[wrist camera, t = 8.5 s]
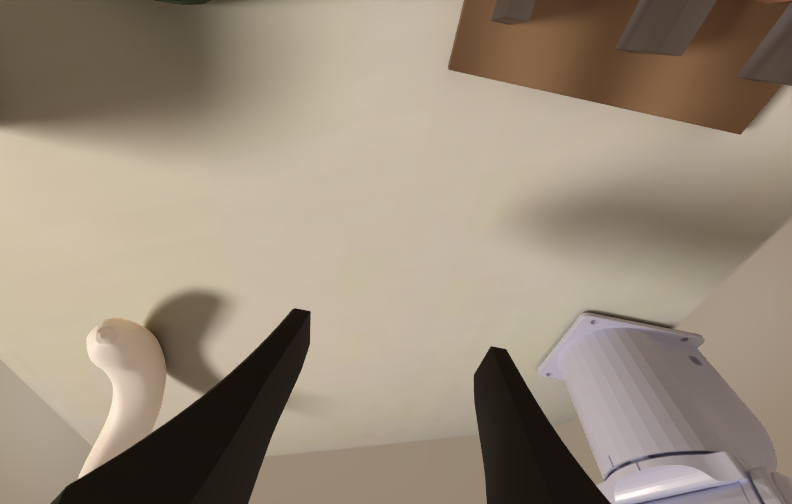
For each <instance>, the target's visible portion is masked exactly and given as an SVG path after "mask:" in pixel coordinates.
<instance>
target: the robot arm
mask: <svg viewBox="0 0 792 504" xmlns="http://www.w3.org/2000/svg"><path fill="white" fill-rule="evenodd" d="M703 342H704V338H702V336H701V335H698V334H694V333H688V332H684V331H679V330H674V329H669V328H664V327H659V326H654V325H649V324H644V323H639V322H634V321H629V320H624V319H619V318H614V317H609V316H604V315H599V314H594V313H583V314H581V315H580V316H579V317H578V319H577V320H576V321H575V322H574V324H573V325H572V326H571V327H570V329H569V330H568V331H567V332H566V334H565V335H564V336H563V337H562V339H561V340H560V341H559V342H558V344H557V345H556V346H555V347H554V349H553V350H552V351H551V352H550V354H549V355H548V356H547V357H546V359H545V360H544V361H543V362H542V364H541V365H540V366H539V367H538V369H537V373H538V375H539V376H542V377H548V378H553V379H558V380H563V381H565V384H566V386H567V389H568V391H569V394H570V396H571V399H572V401H573V404H574V406H575V409H576V411H577V414H578V416H579V419H580V421H581V424H582V426H583V429H584V431H585V434H586V436H587V439H588V441H589V444H590V447H591V449H592V451H593V454H594V457H595V459H596V461H597V464H598V467H599V469H600V472H601V474H602V477H603V479H604V482H602V483H600V484H596V485H595V484H594V483H593V481H592V480H591V479H590V478H589V476H588V475H587V474H586V473H585V472H584V470H583V469H582V467H581V466H580V465H579V463H578V462H577V461H576V460H575V458H574V457H573V455H572V454H571V453H570V451H569V450H568V449H567V447H566V446H565V445H564V443H563V442H562V441H561V439H560V437H559V436H558V434H557V433H556V431H555V430H554V428H553V427H552V425H551V424H550V422H549V421H548V419H547V418H546V416H545V415H544V413H543V411H542V410H541V408H540V407H539V405H538V403H537V402H536V400H535V398H534V397H533V395H532V393H531V392H530V390H529V388H528V387H527V385H526V383H525V382H524V380H523V378H522V376H521V375H520V373H519V371H518V369H517V368H516V366H515V364H514V362H513V360H512V359H511V357H510V355H509V353H508V352H507V350H506V349H502V348H497V347H492V346H491V347H490V349H489V351H488V352H487V354H486V356H485V357H484V359H483V361H482V362H481V364H480V366H479V367H478V369H477V371H476V372H475V374H474V400H475V409H476V416H477V423H478V429H479V436H480V442H481V449H482V455H483V462H484V470H485V480H486V496H487V504H792V478H790V477H787V476H785V475H783V474H780V473H778V472H776V468H777V460H776V454H775V449H774V446H773V443H772V441H771V439H770V437H769V434H768V432H767V431H766V429H765V428H764V426H763V425H762V423H761V422H760V421H759V420H758V418H757V417H756V416H755V415H754V414H753V413H752V411H751V410H750V409H749V408H748V407H747V406H746V404H745V403H744V402H743V401H742V400H741V399H740V398H739V396H738V395H737V394H736V393H735V392H734V391H733V390H732V388H730V386H729V385H728V384H727V383H726V382H725V380H724V379H723V378H722V377H721V376H720V375H719V373H718V372H717V371H716V370H715V369H714V368H713V367H712V365H710V363H709V362H708V361H707V360H706V358H705V357H704V356H703V355H702V354H701V353H700V352H699V350H698V349H697V348H698V347H699V346H700V345H701V344H703ZM309 345H310V311H306V310H301V309H296V308H295V309H293V310H292V311H291V312H290V313H289V314H288V315H287V317H286V318H285V319H284V320H283V321H282V322H281V323H280V325H279V326H278V327H277V328H276V329H275V330H274V331H273V332H272V333H271V334H270V335H269V336H268V337H267V338H266V339H265V340H264V341H263V342H262V343H261V344H260V345H259V347H258V348H257V349H256V350H255V351H254V352H253V353H251V354H250V355H249V356H248V357H247V358H246V359H245V360H244V361H243V362H242V363H241V364H240V365H239V366H237V367H236V368H235V369H234V370H233V371H232V372H231V373H230V374H229V375H227V376H226V377H225V378H224V379H223V380H222V381H220V382H219V383H218V384H217V385H216V386H214V387H213V388H212V389H211V390H210V391H208V392H207V393H206V394H205V395H203V396H202V397H201V398H199V399H198V400H197V401H196V402H194V403H193V404H192V405H190V406H189V407H188V408H186V409H185V410H184V411H182V412H181V413H180V414H178V415H177V416H175V417H174V418H173V419H171V420H170V421H168V422H167V423H166V424H164V425H163V426H161V427H160V428H158V429H157V430H155V431H154V432H152V433H151V434H149V435H148V436H146V437H145V438H143V439H142V440H140V441H139V442H137V443H136V444H134V445H133V446H131V447H130V448H128V449H127V450H125V451H124V452H122V453H121V454H119V455H117V456H116V457H114V458H112V459H111V460H109V461H107V462H106V463H104V464H103V465H101V466H99V467H98V468H96V469H94V470H93V471H91V472H89V473H88V474H86V475H84V476H83V477H81V478H79V479H78V480H76V481H74V482H73V483H71V484H70V485H68V486H67V487H66V488H65V489H64V490H63V491H62V492H61V493H60V495H59V496H58V497H57V498H56V499H55V500H54V501H53V502H52V503H51V504H248V502H249V499H250V496H251V493H252V491H253V488H254V485H255V482H256V479H257V476H258V472H259V470H260V467H261V465H262V462H263V459H264V456H265V453H266V450H267V448H268V445H269V442H270V439H271V437H272V434H273V432H274V430H275V427H276V425H277V423H278V420H279V418H280V416H281V414H282V412H283V409H284V407H285V405H286V403H287V401H288V398H289V396H290V394H291V392H292V389H293V387H294V385H295V383H296V381H297V378H298V376H299V374H300V372H301V369H302V366H303V363H304V360H305V357H306V354H307V351H308V348H309Z"/></svg>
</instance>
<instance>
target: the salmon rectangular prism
mask: <svg viewBox="0 0 792 504" xmlns="http://www.w3.org/2000/svg"><path fill="white" fill-rule="evenodd" d="M755 1H759V2H763V3H767V4H768V3H777V2H787V1H792V0H755Z"/></svg>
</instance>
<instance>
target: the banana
mask: <svg viewBox="0 0 792 504" xmlns="http://www.w3.org/2000/svg"><path fill="white" fill-rule="evenodd" d="M86 343H87V350H88V355H89V357H90V359H91V360H92V362H93V363H94V364H96V365H97V366H98V367H100V368H101V369H102V370H104V371H105V372H106V374H107V375H108V376H109V377H110V379H111V381H112V384H113V399H112V405H111V409H110V412H109V415H108V418H107V420H106V423H105V425H104V427H103V429H102V431H101V433H100V435H99V437H98V439H97V441H96V443H95V445H94V446H93V448H92V450H91V452H90V454H89V456H88V458H87V460H86V462H85V464H84V466H83V468H82V470H81V472H80V475H79V478H81V477H83V476H84V475H86V474H88V473H89V472H91V471H93V470H94V469H96V468H98V467H99V466H101V465H103V464H104V463H106V462H107V461H109V460H111V459H112V458H114V457H116V456H117V455H119V454H121V453H122V452H124V451H125V450H127V449H128V448H130V447H131V446H133V445H134V444H136V443H137V442H139V441H140V440H142V439H143V438H145V437H146V436H148V435H149V434H150V433H151V431H152V429H153V427H154V424H155V422H156V419H157V417H158V414H159V411H160V408H161V404H162V400H163V394H164V389H165V382H166V364H165V359H164V355H163V352H162V349H161V347H160V344H159V342H158V340H157V339H156V337H155V336H154V335H153V334H152V333H151V332H150V331H149V330H148V329H146V328H145V327H143V326H141V325H139V324H137V323H135V322H132V321H129V320H125V319H121V318H110V319H106V320H105V321H103V322H101V323H100V324H98V325H97V326H96V327H95V328H94V329H93V330H92V331H91V332H90V333H89V335H88V336H87V341H86ZM79 478H78V479H79Z"/></svg>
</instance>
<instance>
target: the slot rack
mask: <svg viewBox="0 0 792 504" xmlns="http://www.w3.org/2000/svg"><path fill="white" fill-rule="evenodd" d="M448 69H449V70H453V71H457V72H462V73H466V74H471V75H475V76H480V77H484V78H489V79H493V80H498V81H502V82H507V83H511V84H516V85H520V86H525V87H529V88H534V89H538V90H543V91H547V92H552V93H556V94H561V95H565V96H570V97H574V98H579V99H583V100H588V101H592V102H597V103H601V104H606V105H610V106H615V107H619V108H624V109H628V110H633V111H637V112H642V113H646V114H651V115H655V116H659V117H664V118H668V119H673V120H677V121H682V122H686V123H691V124H695V125H700V126H704V127H709V128H713V129H718V130H722V131H727V132H731V133H736V134H740V135H741V133H742V132H743V131H744V130H745V129H746V127H747V126H748V125H749V124H750V122H751V121H752V120H753V119H754V118H755V116H756V115H757V114H758V113H759V112H760V110H761V109H762V108H763V107H764V106H765V104H766V103H767V102H768V101H769V100H770V98H771V97H772V96H773V95H774V94H775V92H776V91H777V90H778V89H779V87H780V86H781V85H782V84H783V85H791V86H792V1H787V2H777V3H768V4H767V3H763V2H759V1H755V0H464V3H463V8H462V12H461V16H460V20H459V24H458V28H457V32H456V36H455V41H454V45H453V49H452V53H451V57H450V61H449V65H448Z"/></svg>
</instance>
